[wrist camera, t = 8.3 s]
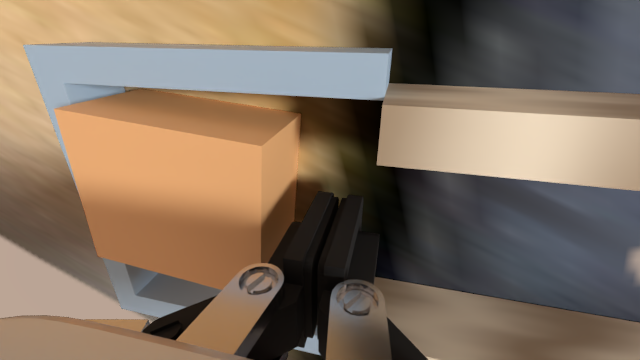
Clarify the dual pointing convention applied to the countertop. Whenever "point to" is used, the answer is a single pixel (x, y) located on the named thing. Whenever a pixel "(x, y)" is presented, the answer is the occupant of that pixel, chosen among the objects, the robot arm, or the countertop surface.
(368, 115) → the countertop surface
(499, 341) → the pair of wooden slats
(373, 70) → the bay
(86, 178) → the block
